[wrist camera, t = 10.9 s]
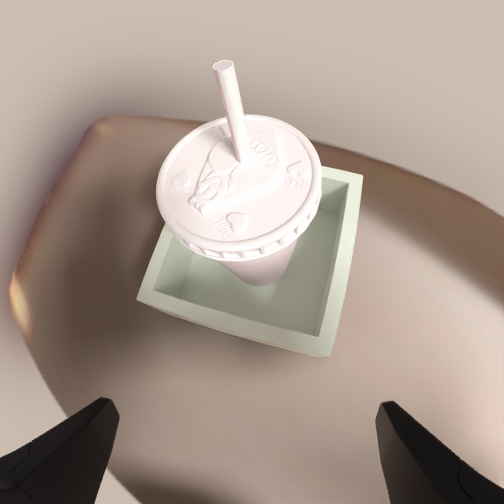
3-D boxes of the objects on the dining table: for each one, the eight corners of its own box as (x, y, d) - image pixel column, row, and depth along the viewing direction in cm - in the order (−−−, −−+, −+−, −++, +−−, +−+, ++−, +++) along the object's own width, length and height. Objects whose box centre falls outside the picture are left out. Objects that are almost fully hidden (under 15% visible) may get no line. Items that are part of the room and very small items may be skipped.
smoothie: (328, 252, 19) (379, 65, 6) (264, 328, 18) (199, 234, 5) (255, 199, 21) (214, 15, 8) (193, 265, 20) (66, 117, 7)
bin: (319, 357, 17) (330, 356, 13) (165, 313, 19) (136, 299, 15) (350, 210, 21) (362, 175, 17) (214, 183, 23) (200, 146, 19)
